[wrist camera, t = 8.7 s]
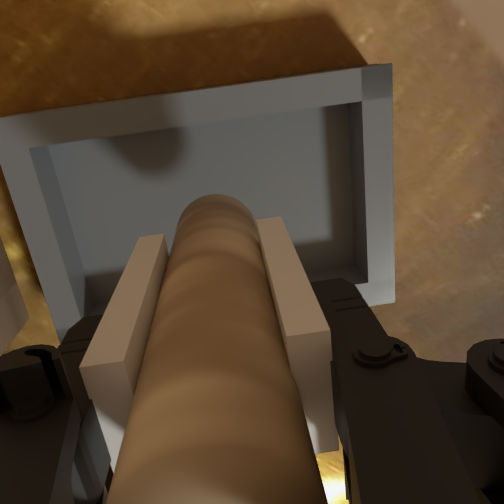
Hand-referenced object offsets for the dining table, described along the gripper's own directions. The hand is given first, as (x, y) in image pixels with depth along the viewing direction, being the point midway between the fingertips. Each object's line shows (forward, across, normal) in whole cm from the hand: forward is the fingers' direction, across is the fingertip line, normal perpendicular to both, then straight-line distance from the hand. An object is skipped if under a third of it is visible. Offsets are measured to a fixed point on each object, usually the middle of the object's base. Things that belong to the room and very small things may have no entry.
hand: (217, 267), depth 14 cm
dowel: (+3, 0, 0) cm, 3 cm away
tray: (+8, 0, 0) cm, 8 cm away
